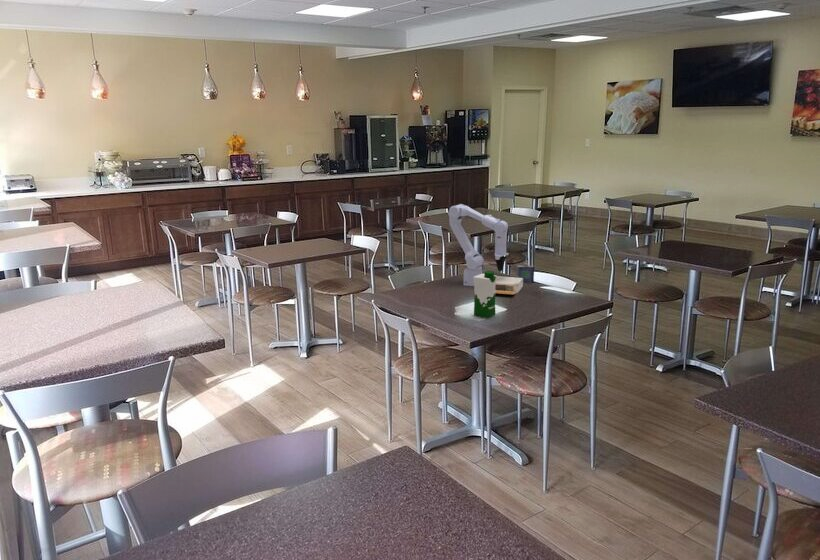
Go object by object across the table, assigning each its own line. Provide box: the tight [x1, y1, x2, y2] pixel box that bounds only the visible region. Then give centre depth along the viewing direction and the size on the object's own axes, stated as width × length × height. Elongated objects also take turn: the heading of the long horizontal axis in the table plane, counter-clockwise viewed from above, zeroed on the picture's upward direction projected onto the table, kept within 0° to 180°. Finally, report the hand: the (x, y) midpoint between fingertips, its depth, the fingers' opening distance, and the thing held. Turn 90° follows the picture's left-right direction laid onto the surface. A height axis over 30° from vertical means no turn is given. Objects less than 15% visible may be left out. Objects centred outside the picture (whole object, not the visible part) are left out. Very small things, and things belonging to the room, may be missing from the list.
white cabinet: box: [495, 275, 524, 294], centre depth 310 cm, size 20×14×5 cm
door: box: [495, 290, 517, 295], centre depth 299 cm, size 19×1×8 cm
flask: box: [516, 262, 535, 284], centre depth 322 cm, size 9×3×11 cm, turn 76°
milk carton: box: [473, 270, 498, 319], centre depth 267 cm, size 9×9×20 cm
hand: (500, 270), depth 311 cm, fingers closed
